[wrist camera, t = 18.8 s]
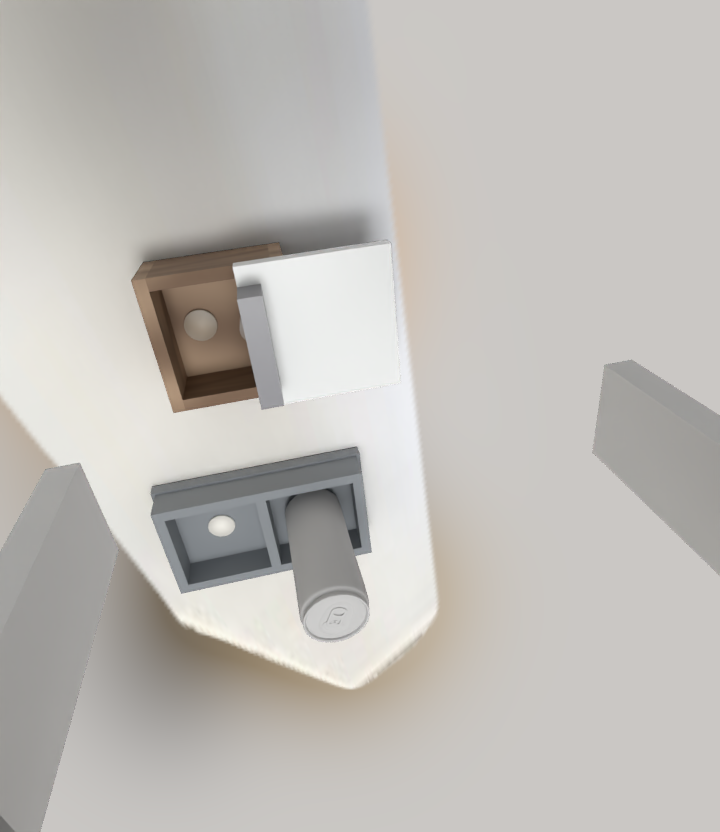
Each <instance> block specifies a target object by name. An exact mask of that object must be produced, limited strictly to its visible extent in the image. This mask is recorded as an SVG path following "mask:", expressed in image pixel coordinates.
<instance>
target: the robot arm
mask: <svg viewBox="0 0 720 832" xmlns="http://www.w3.org/2000/svg"><path fill="white" fill-rule="evenodd" d="M593 454H595V456H597V457H598V458H599V459H600V460H601V461H602V462H603V463H604V464H605V465H606V466H607V467H608V468H609V469H610V470H611V471H612V472H613V473H614V474H615V475H616V476H617V477H618V478H619V479H620V480H621V481H623V483H624V484H625V485H627V486H628V487H629V488H630V489H631V490H632V491H633V492H634V493H635V494H636V495H637V496H638V497H639V498H640V499H641V500H642V501H643V502H644V503H645V504H646V505H647V506H648V507H649V508H650V509H651V510H652V511H653V512H654V513H655V514H657V515H658V516H659V517H660V518H661V519H662V520H663V521H664V522H665V523H666V524H667V525H668V526H669V527H670V528H671V529H672V530H673V531H674V532H675V533H676V534H678V536H679V537H680V538H681V539H682V540H683V541H684V542H686V544H688V545H689V546H690V547H691V548H692V549H693V550H694V551H695V552H696V553H697V554H698V555H699V556H700V557H701V558H702V559H703V560H704V561H705V562H706V563H707V564H708V565H709V566H710V567H711V568H712V569H713V570H714V571H716V573H717V574H719V575H720V415H718V414H717V413H715V412H713V411H712V410H710V409H709V408H707V407H706V406H704V405H703V404H701V403H699V402H698V401H696V400H695V399H693V398H691V397H690V396H688V395H687V394H685V393H683V392H682V391H680V390H679V389H677V388H675V387H674V386H672V385H671V384H669V383H667V382H666V381H665V380H663V379H661V378H660V377H658V376H657V375H655V374H653V373H652V372H650V371H649V370H647V369H646V368H644V367H642V366H641V365H639V364H637V363H636V362H634V361H633V360H628V361H622V362H617V363H612V364H606V365H605V366H604V372H603V379H602V387H601V394H600V401H599V409H598V415H597V423H596V430H595V438H594V444H593ZM118 551H119V549H118V547H117V545H116V542H115V540H114V538H113V536H112V533H111V531H110V529H109V527H108V524H107V522H106V520H105V518H104V516H103V513H102V511H101V509H100V507H99V504H98V502H97V500H96V498H95V496H94V493H93V491H92V489H91V487H90V484H89V482H88V480H87V478H86V475H85V473H84V471H83V469H82V467H81V464H80V463H76V464H71V465H65V466H60V467H55V468H49V469H45V471H44V473H43V474H42V476H41V478H40V480H39V482H38V484H37V485H36V487H35V489H34V491H33V493H32V495H31V496H30V498H29V500H28V502H27V504H26V506H25V508H24V509H23V511H22V513H21V515H20V516H19V518H18V520H17V522H16V524H15V525H14V527H13V529H12V531H11V533H10V535H9V536H8V538H7V540H6V542H5V544H4V546H3V547H2V549H1V551H0V832H40V831H41V827H42V824H43V820H44V817H45V813H46V809H47V806H48V802H49V799H50V795H51V792H52V788H53V784H54V780H55V777H56V774H57V770H58V766H59V763H60V759H61V756H62V752H63V748H64V745H65V741H66V738H67V734H68V731H69V727H70V723H71V720H72V716H73V713H74V709H75V705H76V702H77V698H78V695H79V691H80V688H81V684H82V680H83V677H84V673H85V670H86V666H87V662H88V659H89V655H90V652H91V648H92V645H93V641H94V637H95V634H96V630H97V626H98V623H99V619H100V616H101V612H102V609H103V605H104V602H105V598H106V594H107V590H108V587H109V584H110V580H111V577H112V573H113V569H114V566H115V562H116V559H117V555H118Z"/></svg>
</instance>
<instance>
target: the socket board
mask: <svg viewBox="0 0 720 832" xmlns="http://www.w3.org/2000/svg"><path fill="white" fill-rule="evenodd" d="M321 489H324V490H328V491H330V492H331V493H333V494H334V495H335V496H336V497H337V498H338V500H339V503H340V506H341V510H342V513H343V517H344V520H345V523H346V527H347V530H348V534H349V537H350V541H351V544H352V547H353V550H354V554H355V556H357V555H361V554H366V553H371V552H372V551H371V543H370V535H369V527H368V519H367V511H366V503H365V495H364V487H363V479H362V471H361V463H360V456H359V451H358V448H357V447H354V448H349V449H344V450H338V451H333V452H328V453H323V454H318V455H313V456H308V457H302V458H297V459H292V460H287V461H282V462H277V463H272V464H266V465H261V466H256V467H251V468H246V469H241V470H236V471H230V472H225V473H220V474H215V475H210V476H205V477H200V478H194V479H189V480H184V481H179V482H174V483H169V484H164V485H158V486H153V487H152V490H151V497H152V499H153V502H154V503H153V507H152V512H151V518H152V520H153V523H154V525H155V528H156V530H157V533H158V535H159V538H160V541H161V543H162V546H163V548H164V551H165V553H166V556H167V558H168V561H169V564H170V566H171V569H172V571H173V574H174V576H175V579H176V581H177V584H178V587H179V589H180V592H181V594H182V593H187V592H191V591H196V590H201V589H205V588H210V587H214V586H219V585H224V584H228V583H233V582H237V581H242V580H247V579H251V578H256V577H260V576H265V575H270V574H274V573H279V572H283V571H288V570H293V566H292V559H291V552H290V545H289V538H288V532H287V525H286V518H285V511H286V507H287V506H288V504H289V502H290V501H291V500H292V499H293V498H294V497H295V496H297V495H298V494H302V493H306V492H311V491H316V490H321Z"/></svg>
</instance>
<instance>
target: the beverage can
mask: <svg viewBox="0 0 720 832" xmlns="http://www.w3.org/2000/svg"><path fill="white" fill-rule="evenodd" d="M285 518H286V525H287V532H288V538H289V545H290V552H291V559H292V566H293V573H294V580H295V586H296V593H297V600H298V607H299V614H300V620H301V622H302V624H303V627H304V630H305V632H306V633H307V635H309V636H310V637H311V638H312V639H315V640H317V641H321V642H338V641H342V640H345V639H348V638H350V637H352V636H354V635H355V634H357V633H358V632H359V631H361V630H362V629H363V628H364V626H365V625H366V623H367V622H368V619H369V615H370V614H369V599H368V596H367V592H366V589H365V585H364V582H363V579H362V576H361V572H360V569H359V566H358V563H357V560H356V557H355V554H354V550H353V547H352V544H351V541H350V537H349V534H348V530H347V527H346V523H345V520H344V517H343V513H342V510H341V506H340V503H339V500H338V498H337V497H336V496H335V495H334V494H333V493H331V492H330V491H328V490H324V489H321V490H316V491H311V492H306V493H302V494H298V495H297V496H295V497H294V498H293V499H292V500H291V501H290V502H289V504H288V506H287V507H286V511H285Z"/></svg>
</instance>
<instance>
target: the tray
mask: <svg viewBox="0 0 720 832" xmlns="http://www.w3.org/2000/svg"><path fill="white" fill-rule="evenodd" d="M276 256H283V254H282V251H281V247H280V244H279V242H278V243H271V244H264V245H258V246H251V247H244V248H237V249H231V250H224V251H217V252H210V253H204V254H197V255H190V256H183V257H177V258H170V259H163V260H156V261H150V262H143V263H142V265H141V266H140V268H139V269H138V271H137V272H136V274H135V275H134V277H133V279H132V280H131V282H132V285H133V288H134V291H135V295H136V298H137V301H138V304H139V307H140V310H141V313H142V316H143V319H144V323H145V326H146V329H147V332H148V335H149V338H150V341H151V344H152V347H153V350H154V354H155V357H156V360H157V363H158V366H159V369H160V372H161V375H162V378H163V381H164V385H165V388H166V391H167V394H168V397H169V400H170V403H171V406H172V409H173V412H174V413H176V412H181V411H187V410H192V409H198V408H203V407H209V406H214V405H220V404H226V403H231V402H237V401H242V400H248V399H253V398H259V396H258V391H257V387H256V382H255V378H254V373H253V369H252V365H251V360H250V356H249V351H248V347H247V342H246V338H245V334H244V329H243V325H242V320H241V316H240V311H239V307H238V303H237V285H236V280H235V276H234V271H233V263H236V262H243V261H250V260H256V259H263V258H269V257H276Z"/></svg>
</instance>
